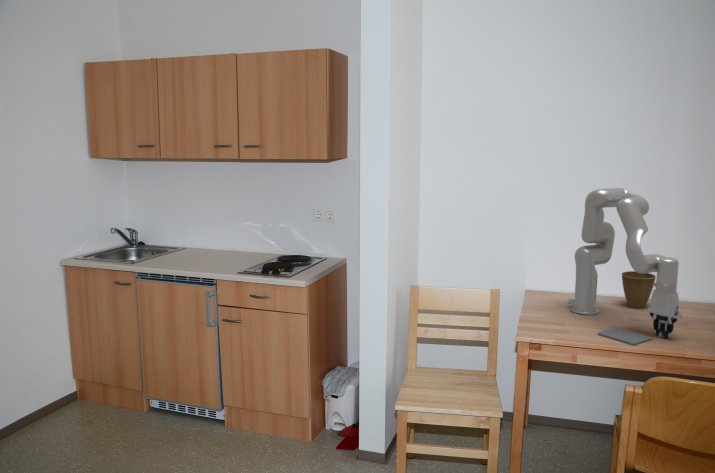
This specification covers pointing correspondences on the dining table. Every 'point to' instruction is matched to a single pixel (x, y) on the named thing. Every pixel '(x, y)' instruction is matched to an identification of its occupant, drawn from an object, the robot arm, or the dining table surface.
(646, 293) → the plant pot
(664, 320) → the black mechanical part
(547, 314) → the dining table surface
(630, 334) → the mat
